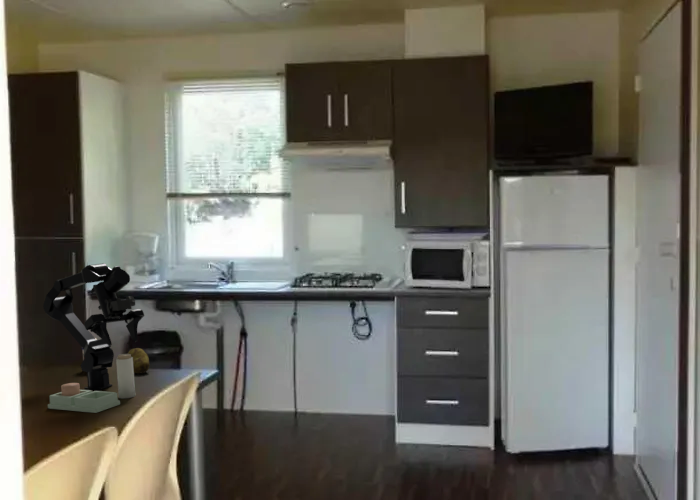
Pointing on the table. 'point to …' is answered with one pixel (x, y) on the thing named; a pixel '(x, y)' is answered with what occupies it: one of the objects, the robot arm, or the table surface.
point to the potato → (139, 360)
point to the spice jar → (125, 376)
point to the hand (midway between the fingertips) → (123, 343)
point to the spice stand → (82, 399)
